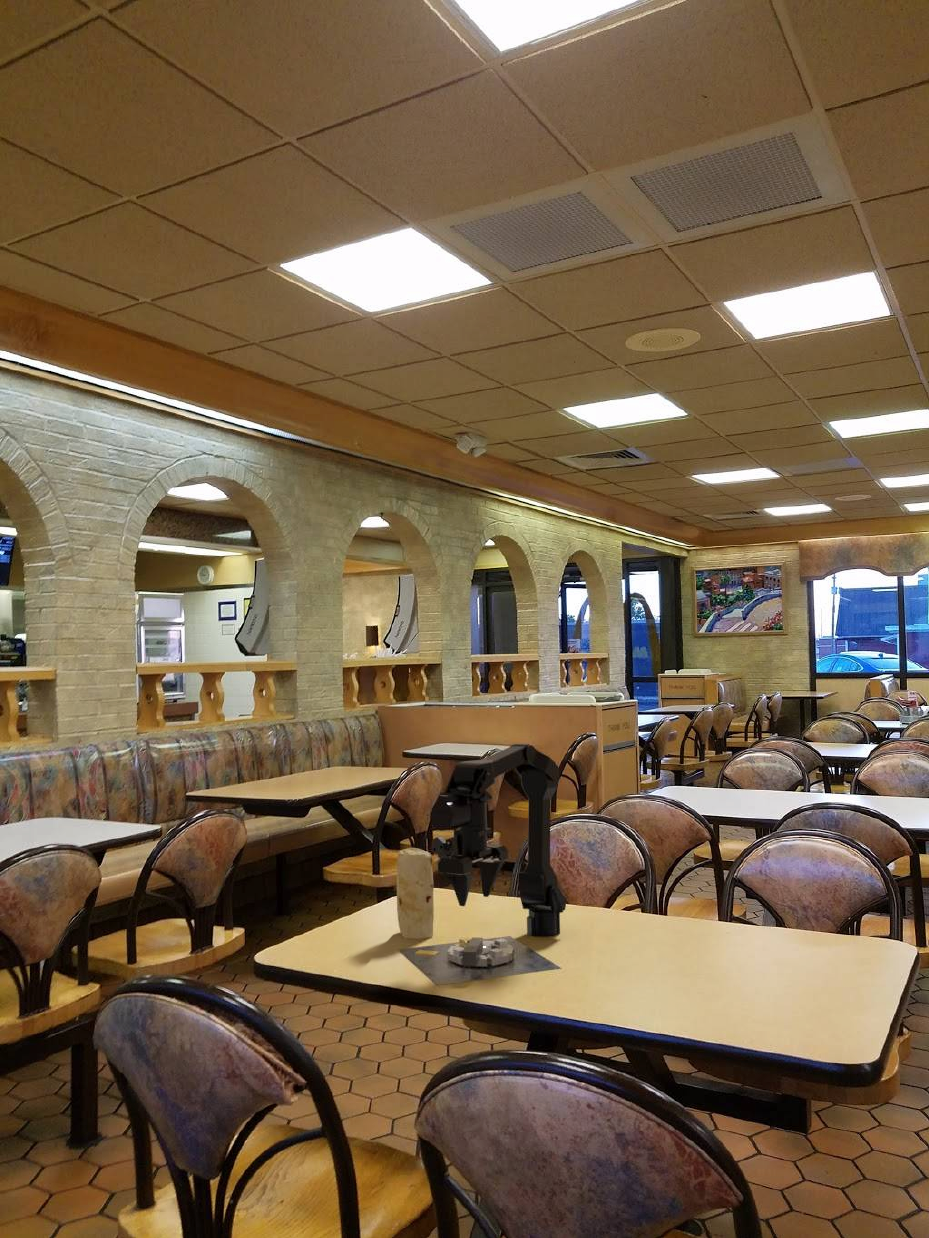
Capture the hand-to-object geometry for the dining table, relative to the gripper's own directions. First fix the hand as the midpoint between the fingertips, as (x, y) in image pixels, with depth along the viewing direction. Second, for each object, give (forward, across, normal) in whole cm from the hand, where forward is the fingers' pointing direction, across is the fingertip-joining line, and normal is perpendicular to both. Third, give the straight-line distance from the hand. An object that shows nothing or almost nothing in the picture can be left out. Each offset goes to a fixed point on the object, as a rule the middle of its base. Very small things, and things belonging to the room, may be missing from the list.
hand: (474, 901), depth 199 cm
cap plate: (+13, -2, -1) cm, 13 cm away
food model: (+13, -11, -23) cm, 28 cm away
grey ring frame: (+12, +1, +1) cm, 12 cm away
